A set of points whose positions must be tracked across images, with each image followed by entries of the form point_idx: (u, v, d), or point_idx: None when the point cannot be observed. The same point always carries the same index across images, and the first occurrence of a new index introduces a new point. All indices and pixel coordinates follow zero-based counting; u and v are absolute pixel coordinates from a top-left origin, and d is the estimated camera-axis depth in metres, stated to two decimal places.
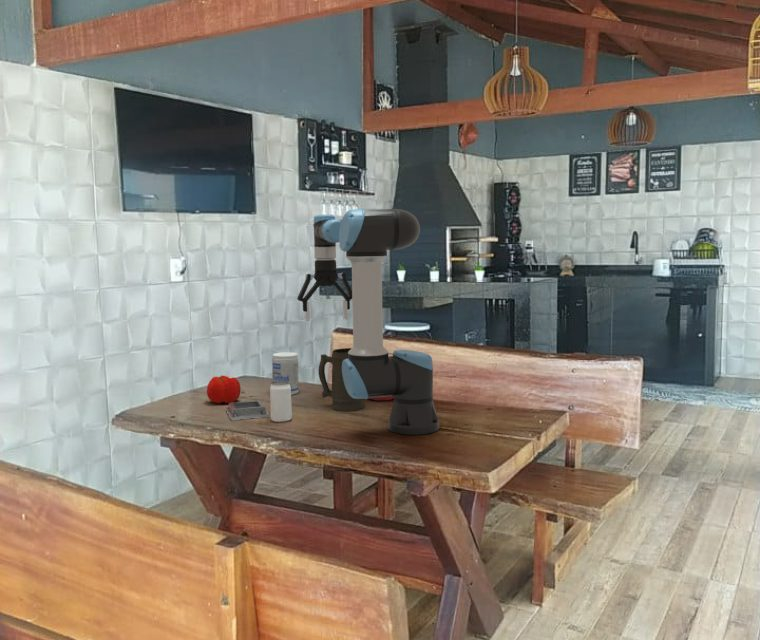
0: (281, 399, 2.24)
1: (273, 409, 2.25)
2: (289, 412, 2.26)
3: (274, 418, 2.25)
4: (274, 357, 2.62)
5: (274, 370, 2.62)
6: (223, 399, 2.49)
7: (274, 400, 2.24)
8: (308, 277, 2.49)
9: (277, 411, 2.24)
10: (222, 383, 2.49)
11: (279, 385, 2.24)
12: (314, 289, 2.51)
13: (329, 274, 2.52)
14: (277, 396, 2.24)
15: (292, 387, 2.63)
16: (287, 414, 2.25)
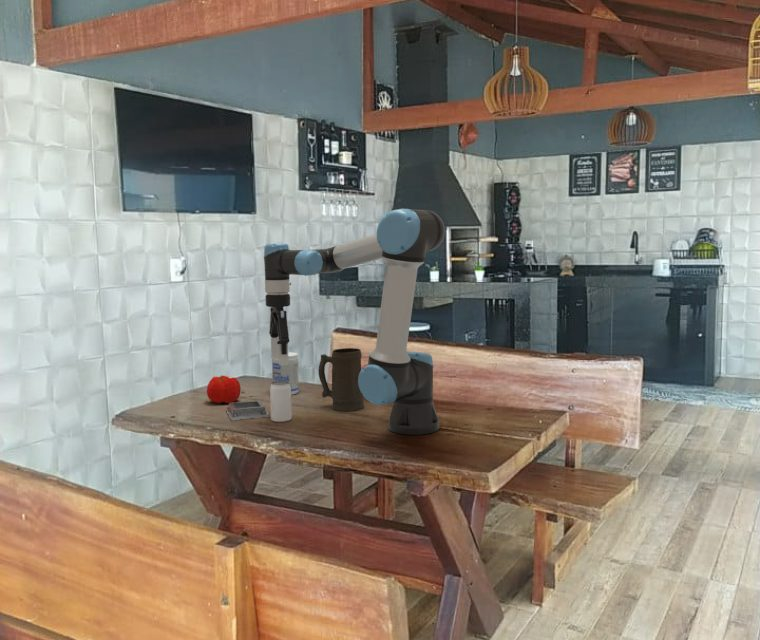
0: (281, 399, 2.24)
1: (273, 409, 2.25)
2: (289, 412, 2.26)
3: (274, 418, 2.25)
4: None
5: (274, 370, 2.62)
6: (223, 399, 2.49)
7: (274, 400, 2.24)
8: None
9: (277, 411, 2.24)
10: (222, 383, 2.49)
11: (279, 385, 2.24)
12: (272, 324, 2.29)
13: (275, 310, 2.23)
14: (277, 396, 2.24)
15: (292, 387, 2.63)
16: (287, 414, 2.25)
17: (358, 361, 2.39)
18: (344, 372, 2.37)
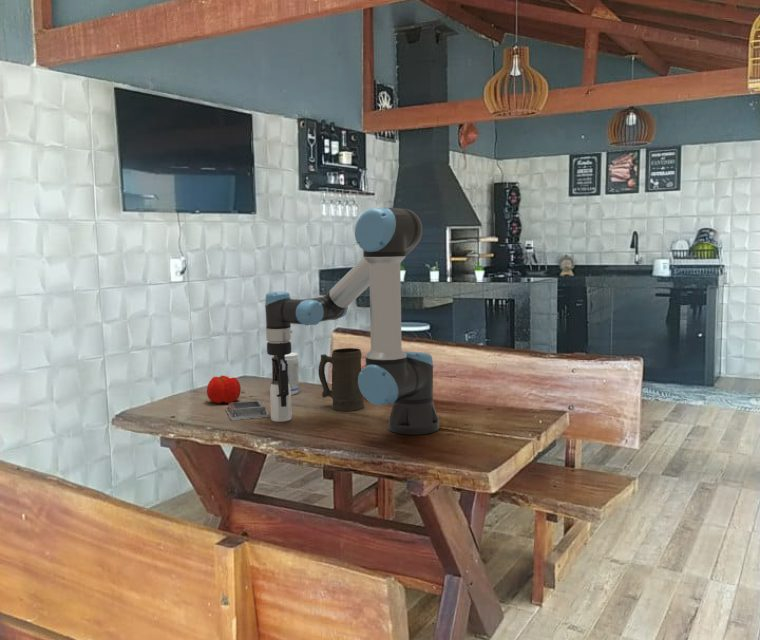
0: None
1: (273, 409, 2.25)
2: (289, 412, 2.26)
3: (274, 418, 2.25)
4: None
5: None
6: (223, 399, 2.49)
7: (274, 400, 2.24)
8: None
9: (277, 411, 2.24)
10: (222, 383, 2.49)
11: None
12: (274, 375, 2.29)
13: (276, 356, 2.24)
14: None
15: (292, 387, 2.63)
16: None
17: (358, 361, 2.39)
18: (344, 372, 2.37)
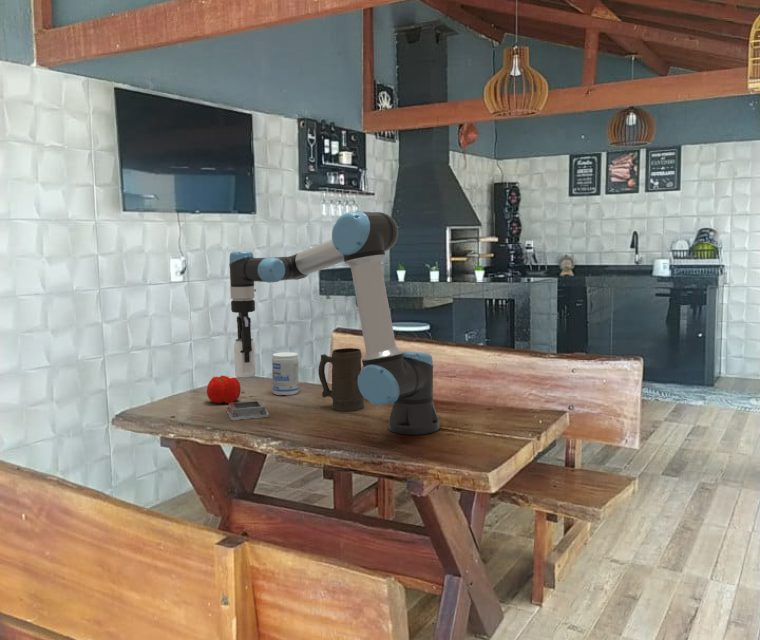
0: None
1: (237, 365, 2.32)
2: (253, 368, 2.33)
3: (237, 373, 2.32)
4: (274, 357, 2.62)
5: (274, 370, 2.62)
6: (223, 399, 2.49)
7: (238, 356, 2.31)
8: None
9: (240, 367, 2.31)
10: (222, 383, 2.49)
11: None
12: (239, 333, 2.36)
13: (240, 314, 2.31)
14: None
15: (292, 387, 2.63)
16: None
17: (358, 361, 2.39)
18: (344, 372, 2.37)
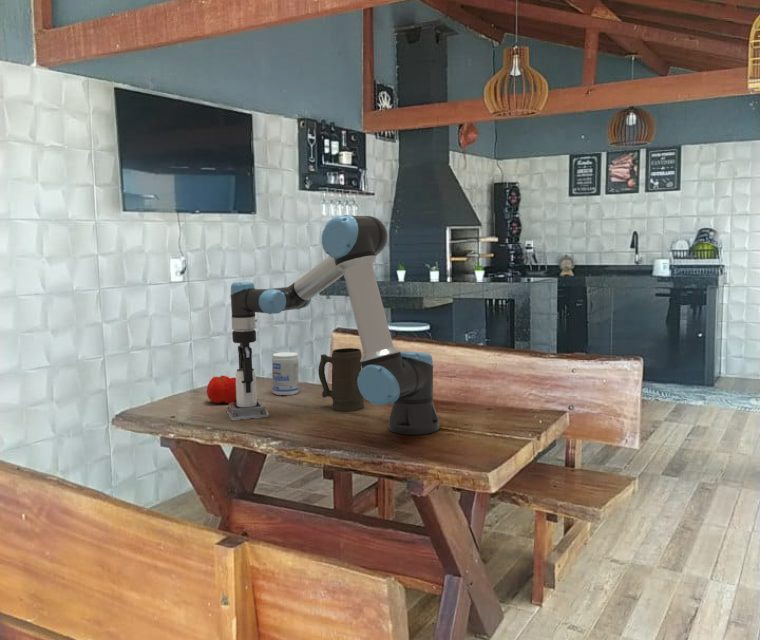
0: None
1: (238, 395, 2.33)
2: (254, 398, 2.34)
3: (239, 403, 2.33)
4: (274, 357, 2.62)
5: (274, 370, 2.62)
6: (223, 399, 2.49)
7: (239, 387, 2.32)
8: None
9: (242, 397, 2.33)
10: (222, 383, 2.49)
11: None
12: (240, 362, 2.37)
13: (241, 344, 2.32)
14: None
15: (292, 387, 2.63)
16: None
17: (358, 361, 2.39)
18: (344, 372, 2.37)
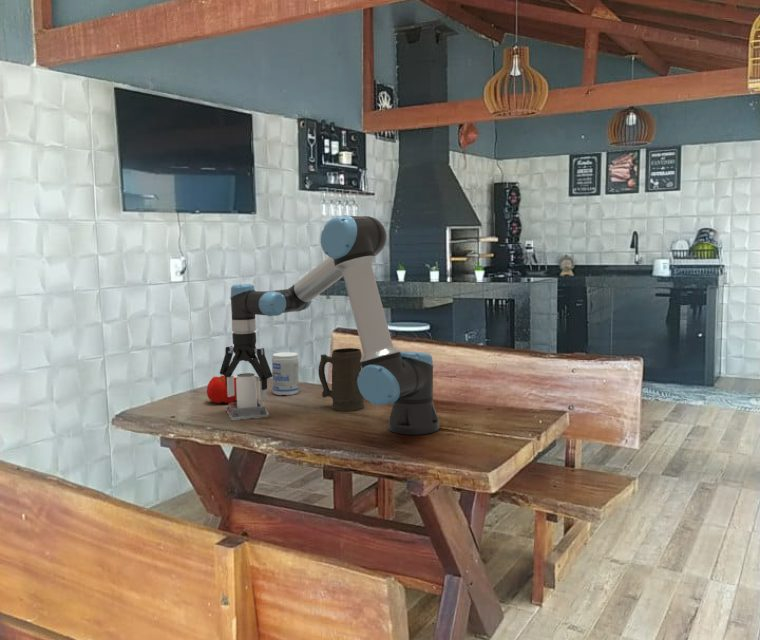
0: (254, 389, 2.34)
1: (245, 401, 2.33)
2: None
3: None
4: (274, 357, 2.62)
5: (274, 370, 2.62)
6: (223, 399, 2.49)
7: (247, 392, 2.32)
8: (226, 350, 2.36)
9: (250, 402, 2.33)
10: (222, 383, 2.49)
11: (251, 376, 2.33)
12: (232, 363, 2.35)
13: (245, 348, 2.32)
14: (250, 387, 2.33)
15: (292, 387, 2.63)
16: (256, 403, 2.36)
17: (358, 361, 2.39)
18: (344, 372, 2.37)
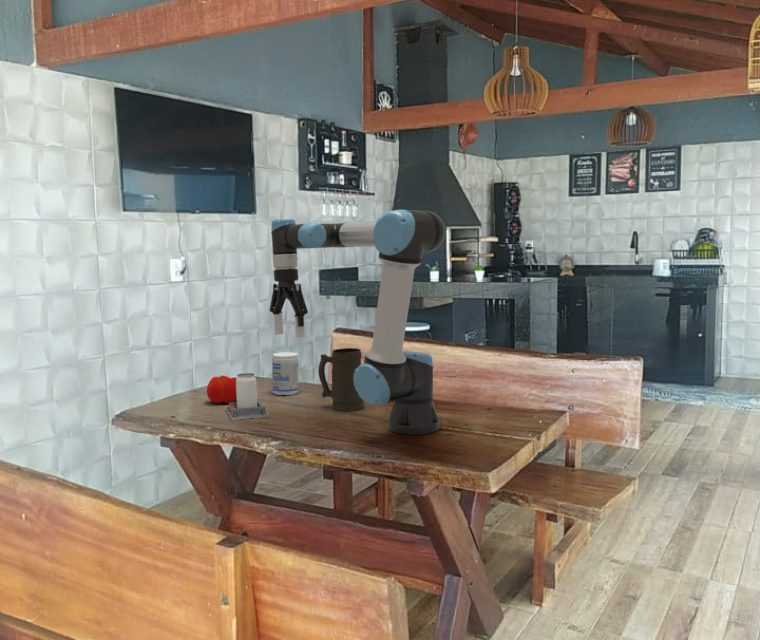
0: (254, 389, 2.34)
1: (245, 401, 2.33)
2: None
3: None
4: (274, 357, 2.62)
5: (274, 370, 2.62)
6: (223, 399, 2.49)
7: (247, 392, 2.32)
8: (273, 287, 2.32)
9: (250, 402, 2.33)
10: (222, 383, 2.49)
11: (251, 376, 2.33)
12: (277, 300, 2.31)
13: (285, 285, 2.26)
14: (250, 387, 2.33)
15: (292, 387, 2.63)
16: (256, 403, 2.36)
17: (358, 361, 2.39)
18: (344, 372, 2.37)
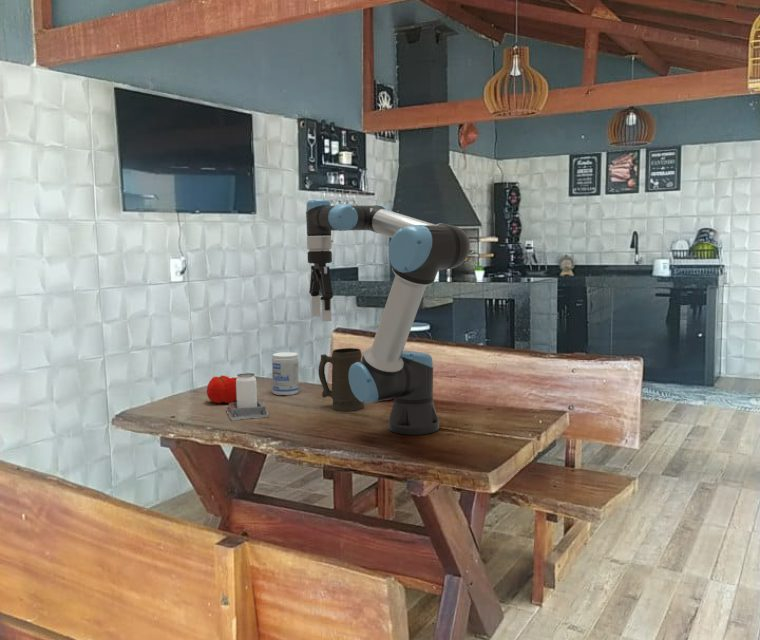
0: (254, 389, 2.34)
1: (245, 401, 2.33)
2: None
3: None
4: (274, 357, 2.62)
5: (274, 370, 2.62)
6: (223, 399, 2.49)
7: (247, 392, 2.32)
8: (311, 269, 2.29)
9: (250, 402, 2.33)
10: (222, 383, 2.49)
11: (251, 376, 2.33)
12: (313, 282, 2.28)
13: (317, 267, 2.22)
14: (250, 387, 2.33)
15: (292, 387, 2.63)
16: (256, 403, 2.36)
17: (358, 361, 2.39)
18: (344, 372, 2.37)
